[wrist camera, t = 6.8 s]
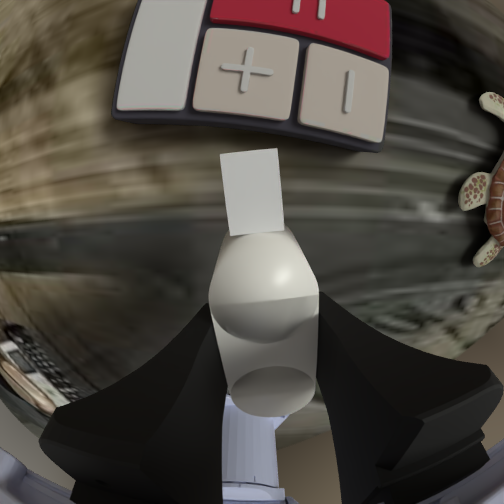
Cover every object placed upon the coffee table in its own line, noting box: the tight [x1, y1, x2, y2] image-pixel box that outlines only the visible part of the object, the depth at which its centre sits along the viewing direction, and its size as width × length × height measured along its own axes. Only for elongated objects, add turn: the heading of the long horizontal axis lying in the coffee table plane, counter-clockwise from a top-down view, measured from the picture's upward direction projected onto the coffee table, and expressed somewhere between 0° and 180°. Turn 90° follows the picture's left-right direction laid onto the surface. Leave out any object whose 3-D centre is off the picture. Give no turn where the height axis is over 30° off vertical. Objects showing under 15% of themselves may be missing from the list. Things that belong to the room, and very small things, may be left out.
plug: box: [209, 148, 319, 417], centre depth 9 cm, size 9×3×4 cm, turn 6°
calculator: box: [111, 0, 392, 153], centre depth 12 cm, size 11×4×15 cm
